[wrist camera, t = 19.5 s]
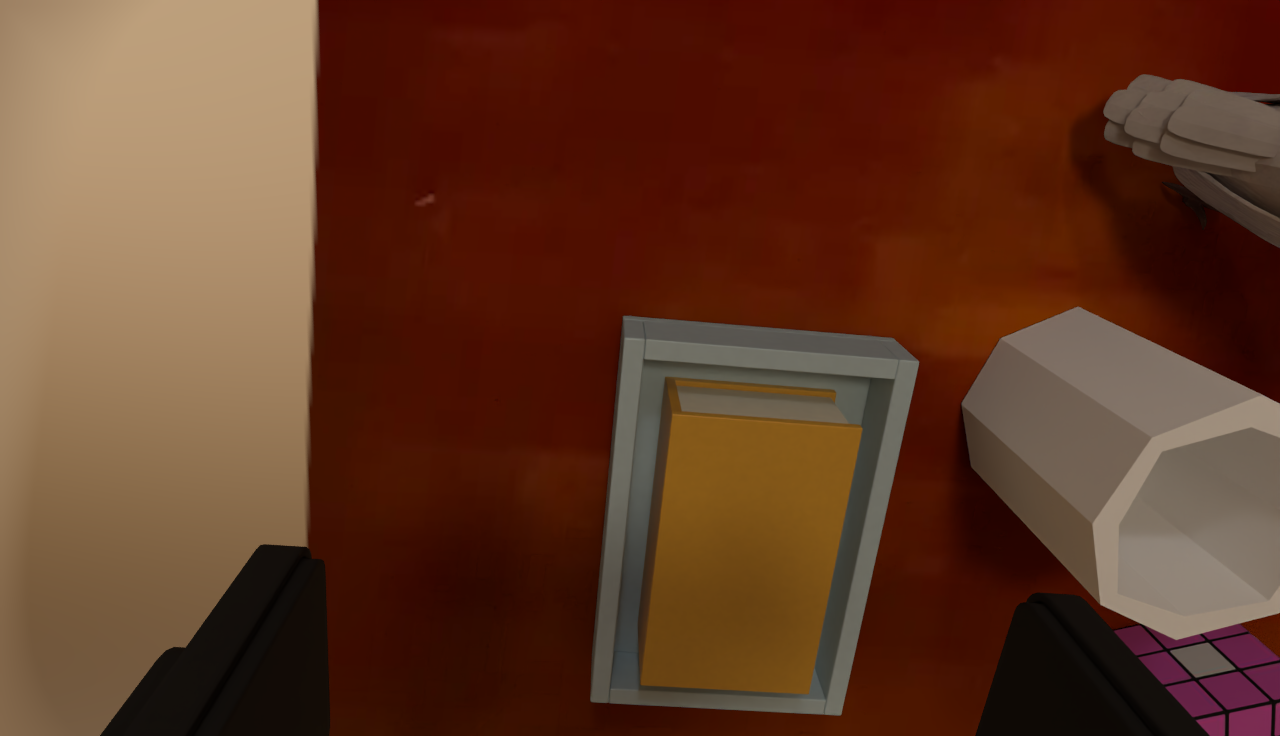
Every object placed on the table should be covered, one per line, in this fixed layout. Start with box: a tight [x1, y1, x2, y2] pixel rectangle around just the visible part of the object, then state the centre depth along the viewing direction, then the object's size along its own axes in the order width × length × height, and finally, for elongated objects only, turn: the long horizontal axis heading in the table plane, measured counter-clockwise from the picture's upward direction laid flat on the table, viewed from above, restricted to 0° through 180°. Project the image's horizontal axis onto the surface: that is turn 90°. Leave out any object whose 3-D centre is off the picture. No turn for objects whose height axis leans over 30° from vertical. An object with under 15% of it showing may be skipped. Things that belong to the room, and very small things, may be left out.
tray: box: [590, 316, 919, 715], centre depth 34 cm, size 11×17×3 cm
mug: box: [961, 307, 1280, 640], centre depth 30 cm, size 12×9×10 cm
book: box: [637, 377, 863, 694], centre depth 33 cm, size 12×7×4 cm, turn 175°
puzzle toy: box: [1114, 624, 1280, 736], centre depth 36 cm, size 6×6×6 cm
